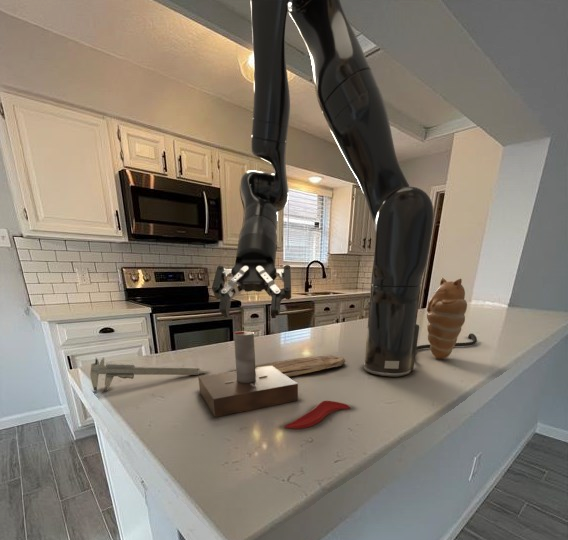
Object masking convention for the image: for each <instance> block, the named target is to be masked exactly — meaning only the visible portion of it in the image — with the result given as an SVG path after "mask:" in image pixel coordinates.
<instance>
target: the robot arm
mask: <svg viewBox="0 0 568 540" xmlns="http://www.w3.org/2000/svg"><path fill="white" fill-rule="evenodd" d="M250 11H251V31H252V33H251V34H252V35H251V37H252V57H253V58H252V59H253V104H252V106H253V107H252V118H251V119H252V121H251V122H252V123H251V137H250V150H251V151H250V152H251V153H252V154H253V155H254V157H256V158H259V159H260V160H263V161H265V162H268V163H269V164H270V165H271V166H272V169H273V171H274V173H271V172H266V171H259V170H253V169H252V170H247V171H246V172H244V174H243V175H242V176H241V178H240V181H239V195H240V200H241V204H242V207H243V219H242V225H241V228H240V232H239V236H238V241H237V242H238V244H237V248H236V255H235V260H234V261H235V262H234V266H232V268H224V266H223V265H222V264H221V265H220V264H219V265H217V267H216V269H215V274H214V278H213V282H212V284H211V285H212V286H211V291H212V293H213V296H214V298H215V300H219V306H218V308H219V312H220V314H221V315H222V316H223V318H224V319H228V318H230V312H231V311H230V310H231V305H232V301H231V300H233V298H234V297H236V296H237V297H238V296H240V295H241V293H242V292H258V293H259V292H261V293H262V291H265V292H266V293H267V295H268V296H269V297H271V304H270V317H271V319H276V318H277V316H279V315H280V313H281V302H282V301H283V300H287V301H289V300H291V299H292V274H291V273H292V271H291V266H290V265H289V264H286V265H284V266H283V268H276V258H277V250H278V233H277V231H278V222H279V221H278V219H279V214H278V212H281V211H283V210H284V209H285V207H286V205H288V200H289V184H288V177H287V166H286V164H287V163H286V151H287V141H288V134H289V125H290V117H291V116H290V115H291V96H290V87H289V79H288V71H287V70H288V69H287V62H286V45H285V44H286V26H287V25H286V24H287V14H289V16H290V17H291V19H292V20H293V22H294V23H295V26H296V27H297V29H298V31H299V34H300V35H301V37H302V39H303V41H304V43H305V46H306V48H307V51H308V53H309V56H310V57H309V58H310V62H311V66H312V76H313V83H314V84H313V85H314V90H315V95H316V99H317V102H318V105H319V108H320V111H321V112H322V116H323V117H324V119H325V121H326V124H327V126H328V128H329V130H330V133H331V134H332V136H333V138H334V140H335V142H336V144H337V146H338V148H339V150H340V152H341V154H342V155H343V157H344V159H345V161H346V163H347V165H348V166H349V168H350V170H351V171H352V173H353V175H354V177H355V178H356V179H357V182H358V184H359V186H360V188H361V191H362V193H363V196H364V198H365V201H366V204H367V207H368V210H369V213H370V216H371V219H372V222H373V225H374V230H375V242H374V255H373V263H372V269H371V278H370V290H369V303H368V304H369V305H368V318H367V327H366V328H367V329H366V341H365V342H366V343H365V354H364V364H363V369H364V371H365V372H367V373H369V374H372V375H376V376H381V377H391V378H392V377H393V378H396V377H404V376H407V375H409V374H410V373H411V372H412V371H414V369H415V362H416V355H417V351H419V350H423V349H424V350H425V349H430V345H431V344H430V343H428V344H421V345H418V340H419V334H420V325H419V324H417V320H418V314H419V313H418V312H419V305H420V298H421V289H422V285H423V284H422V282H423V278H424V275H425V274H424V273H425V271H426V268H427V266H428V265H427V264H428V259H429V252H430V248H431V247H430V246H431V240H432V234H433V227H434V216H435V213H434V212H435V210H434V205H433V201H432V199H431V197H430V196H429V194H428V193H427V192H426V191H424V190H423V189H421V188H419V187H417V186H416V187H415V186H410V185H409V184H410V183H409V182H408V180H407V179H406V176H405V174H404V172H403V170H402V168H401V166H400V163H399V160H398V157H397V153H396V150H395V149H396V148H395V144H394V139H393V133H392V129H391V125H390V119H389V114H388V111H387V107H386V104H385V100H384V98H383V96H382V92H381V90H380V87H379V85H378V82H377V80H376V78H375V75H374V73H373V70H372V68H371V66H370V64H369V61H368V60H367V58H366V55H365V53H364V51H363V48H362V46H361V44H360V41H359V40H358V37H357V35H356V33H355V32H354V30H353V27H352V25H351V24H350V22H349V21H350V20H349V19H348V17H347V15H346V13H345V10H344V8H343V5H342V2H341V0H250ZM277 277H279V280H280V281H281V282H282V283H283V288H279V286H278V285H277V284H276V283H275V280H276V279H277ZM229 278H230V279H229ZM226 283H227V284H226ZM225 284H226V285H225ZM467 338H468V339H472V341H467V342H466V341H465V342H456V344H455V345H454V347H470V346H474V345H475V344H477V342H478V339H477V336H476V335H475V334H474V333H469V334H468V336H467Z"/></svg>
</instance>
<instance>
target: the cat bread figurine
mask: <svg viewBox="0 0 568 540" xmlns="http://www.w3.org/2000/svg"><path fill="white" fill-rule="evenodd" d="M462 281H463V280H462V278H458V279H456V280H455V281H452V280H451V281H447V279H445V278H444V277H441V279H440V282H439V287H437V289H435V291H434V292H433V295H432V297H430V298H429V300H428V302H427V308H426V312H427V314H426V319H427V321H428V323H427V333H428V334H427V341H428V344H431V345H430V348H429V349H430V352H431V355H433V357H435V358H436V359H446V358H448V357H449V356H450V355H451V354H452V352H453V348H454V347H455V346H454V345H455V344H456V343H458V342H457V341H458V337H459V335H460V333H461V331H462V327H463V326H464V324H465V322H466V315H465V314H466V313H467V309H468V302H467V301H466V300H465V297H466V290H465V288H464V286H463V284H462V283H463V282H462Z"/></svg>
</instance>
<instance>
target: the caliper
mask: <svg viewBox="0 0 568 540" xmlns="http://www.w3.org/2000/svg"><path fill="white" fill-rule="evenodd" d="M200 373H201V374H205V373H206V370H205V369H204V368H203V369H202V368H200V367H198V366H164V365H163V366H161V365H135V363H121V362H106V364H105V357H102V358H101V359H100V361H99V359H98V357H97V356H95V361H94V362H91V365H90V373H89V375H90V376H89V377H90V380H91V385H92V388H93V391H94V392H97V391H98V385H99V384H98V383H99V375H105V377H104V390H105V392H107V391H108V390H109V389H110V387H111V384H112V381H113V379H114V377H118V378H120V379H131V380H133V379H134V377H135V375H137V376H139V375H146V376H147V375H148V376H150V375H153V376H155V375H157V376H160V375H163V376H164V375H166V376H167V375H168V376H199V375H200Z"/></svg>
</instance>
